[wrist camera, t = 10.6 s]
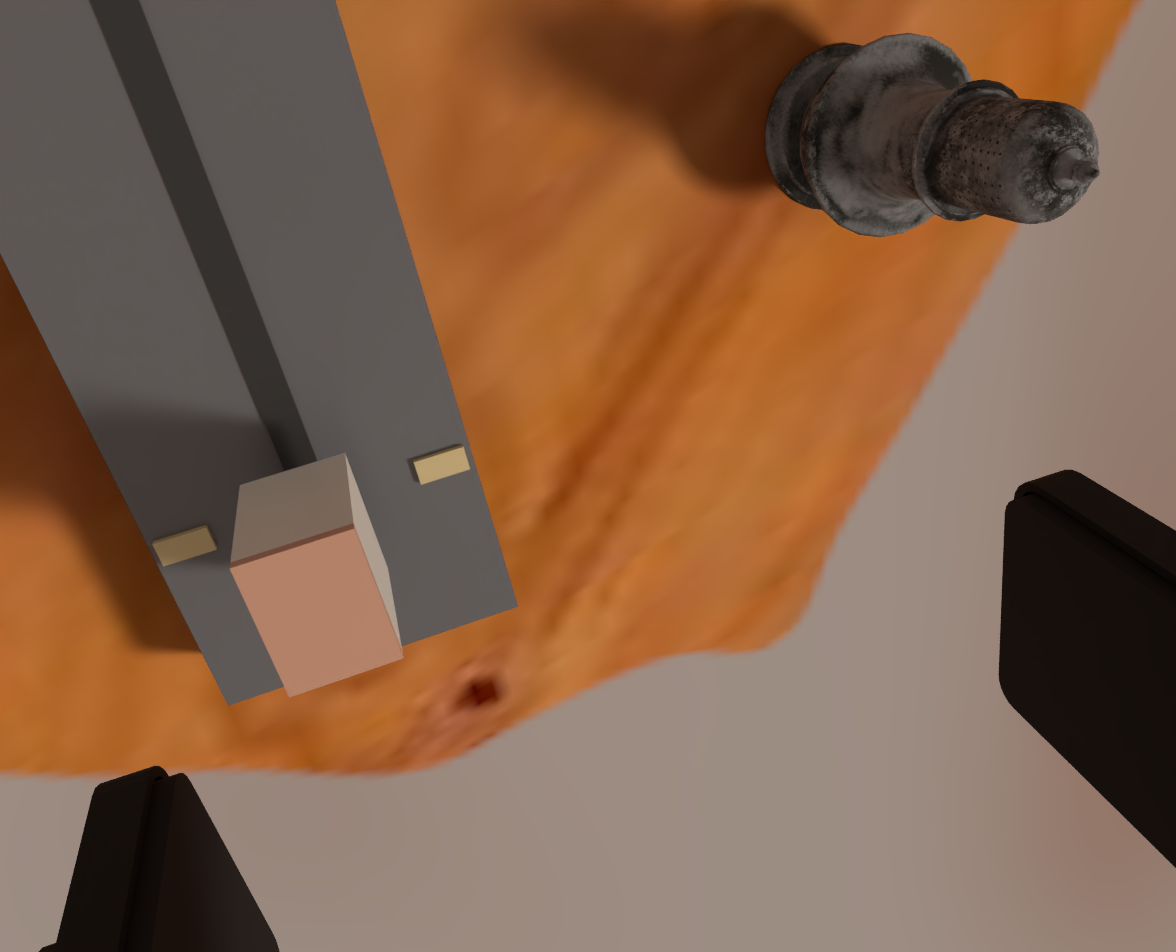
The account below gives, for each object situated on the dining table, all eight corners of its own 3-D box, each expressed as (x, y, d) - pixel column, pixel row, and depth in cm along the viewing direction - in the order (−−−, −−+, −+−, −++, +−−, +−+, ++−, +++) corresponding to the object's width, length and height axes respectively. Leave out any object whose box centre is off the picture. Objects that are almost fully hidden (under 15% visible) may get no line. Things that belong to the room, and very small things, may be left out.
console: (-191, -221, 22) (-262, -258, 19) (238, -301, 24) (231, -347, 21) (233, 653, 34) (227, 709, 31) (501, 564, 36) (519, 609, 33)
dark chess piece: (748, 220, 33) (963, 307, 22) (765, 31, 30) (1013, 27, 20) (900, 216, 34) (1168, 295, 24) (927, 35, 32) (1238, 34, 21)
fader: (242, 464, 28) (229, 568, 23) (342, 433, 29) (354, 528, 23) (290, 575, 30) (289, 697, 24) (383, 545, 30) (403, 658, 25)
